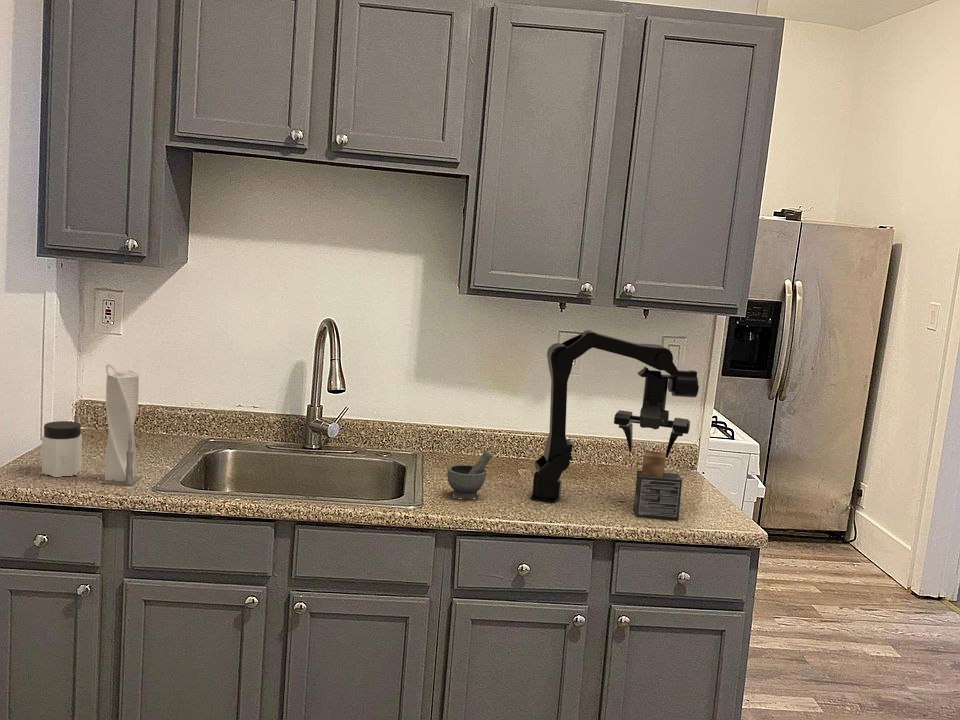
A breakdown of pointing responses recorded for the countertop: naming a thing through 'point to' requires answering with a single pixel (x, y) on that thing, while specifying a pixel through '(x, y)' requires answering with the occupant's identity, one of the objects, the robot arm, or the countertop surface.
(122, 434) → the skyscraper
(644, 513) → the small box
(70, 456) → the jar
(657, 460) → the block
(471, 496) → the mortar and pestle
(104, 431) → the countertop surface
